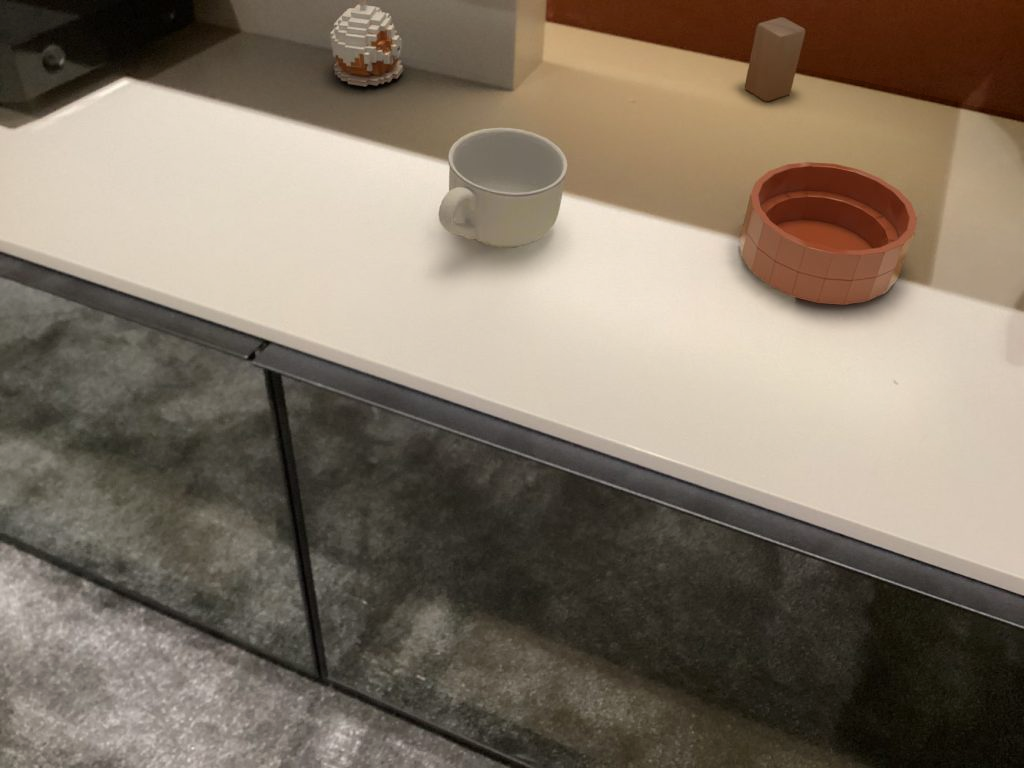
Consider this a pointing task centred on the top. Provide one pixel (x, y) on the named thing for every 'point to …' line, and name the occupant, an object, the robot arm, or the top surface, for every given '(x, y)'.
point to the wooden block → (774, 58)
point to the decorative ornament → (366, 46)
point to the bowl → (826, 232)
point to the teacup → (503, 187)
